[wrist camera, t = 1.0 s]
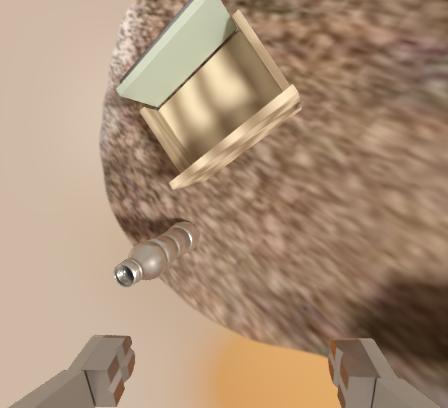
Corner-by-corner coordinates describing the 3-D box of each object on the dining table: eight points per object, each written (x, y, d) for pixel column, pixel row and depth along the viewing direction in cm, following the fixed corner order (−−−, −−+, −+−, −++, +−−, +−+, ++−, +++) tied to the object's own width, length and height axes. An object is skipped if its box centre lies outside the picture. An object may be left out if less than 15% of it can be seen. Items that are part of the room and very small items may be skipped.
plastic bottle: (171, 223, 54) (98, 259, 36) (197, 215, 52) (133, 250, 33) (180, 250, 55) (114, 299, 36) (206, 243, 52) (150, 293, 34)
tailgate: (229, 17, 40) (205, -24, 31) (237, 28, 40) (214, -10, 31) (151, 97, 47) (112, 84, 38) (157, 107, 47) (120, 95, 38)
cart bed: (246, 27, 42) (222, -21, 30) (301, 109, 41) (298, 92, 30) (159, 112, 50) (114, 100, 39) (205, 181, 50) (173, 189, 38)
